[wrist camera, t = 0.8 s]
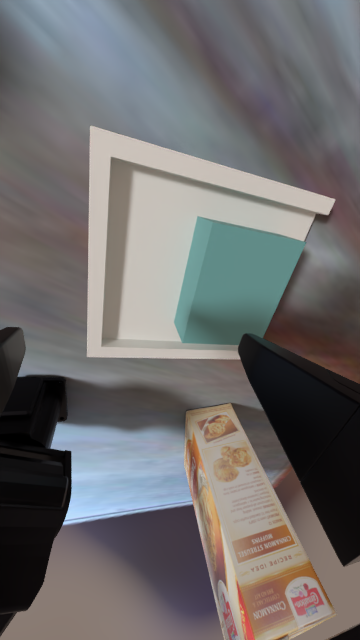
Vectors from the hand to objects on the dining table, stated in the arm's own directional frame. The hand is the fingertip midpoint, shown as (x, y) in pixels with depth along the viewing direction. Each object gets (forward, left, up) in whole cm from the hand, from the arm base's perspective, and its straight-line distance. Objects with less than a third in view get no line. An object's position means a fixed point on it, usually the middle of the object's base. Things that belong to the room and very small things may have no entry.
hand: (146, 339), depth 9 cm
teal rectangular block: (0, -9, -11) cm, 14 cm away
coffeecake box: (-27, -14, -12) cm, 32 cm away
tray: (0, -6, -12) cm, 13 cm away
